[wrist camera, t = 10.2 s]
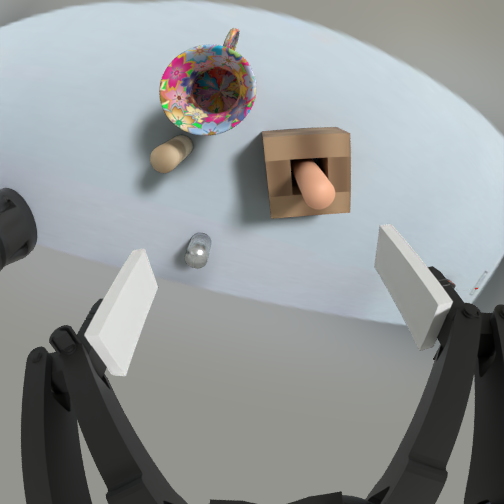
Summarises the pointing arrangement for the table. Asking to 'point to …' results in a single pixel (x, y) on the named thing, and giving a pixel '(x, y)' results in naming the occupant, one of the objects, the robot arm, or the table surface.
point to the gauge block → (301, 147)
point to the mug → (208, 88)
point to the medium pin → (171, 153)
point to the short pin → (198, 250)
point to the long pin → (312, 183)
